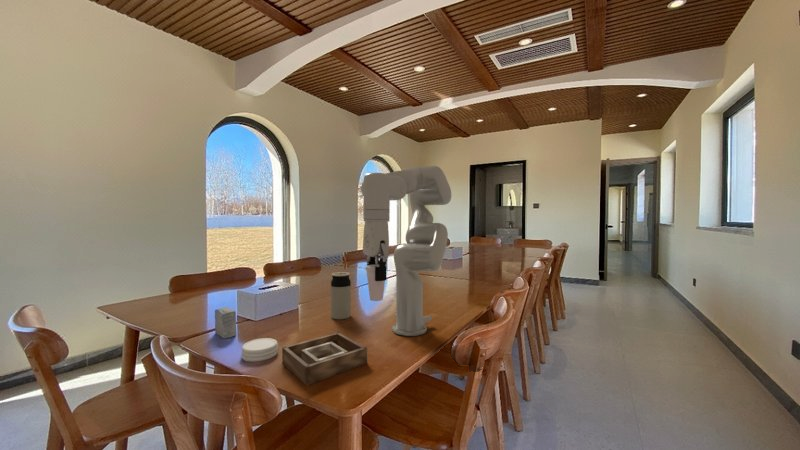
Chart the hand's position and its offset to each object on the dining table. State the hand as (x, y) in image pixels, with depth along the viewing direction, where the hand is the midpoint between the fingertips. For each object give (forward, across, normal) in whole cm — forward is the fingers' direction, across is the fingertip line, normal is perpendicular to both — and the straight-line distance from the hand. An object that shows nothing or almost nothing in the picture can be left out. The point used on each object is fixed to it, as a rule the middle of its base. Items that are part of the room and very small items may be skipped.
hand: (376, 278), depth 93 cm
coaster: (+24, -18, -31) cm, 43 cm away
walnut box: (+24, -4, -14) cm, 28 cm away
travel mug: (+24, -43, 0) cm, 49 cm away
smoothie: (+6, 0, 0) cm, 6 cm away
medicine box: (+24, -40, -42) cm, 63 cm away
